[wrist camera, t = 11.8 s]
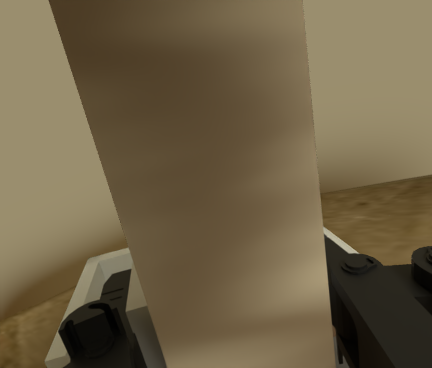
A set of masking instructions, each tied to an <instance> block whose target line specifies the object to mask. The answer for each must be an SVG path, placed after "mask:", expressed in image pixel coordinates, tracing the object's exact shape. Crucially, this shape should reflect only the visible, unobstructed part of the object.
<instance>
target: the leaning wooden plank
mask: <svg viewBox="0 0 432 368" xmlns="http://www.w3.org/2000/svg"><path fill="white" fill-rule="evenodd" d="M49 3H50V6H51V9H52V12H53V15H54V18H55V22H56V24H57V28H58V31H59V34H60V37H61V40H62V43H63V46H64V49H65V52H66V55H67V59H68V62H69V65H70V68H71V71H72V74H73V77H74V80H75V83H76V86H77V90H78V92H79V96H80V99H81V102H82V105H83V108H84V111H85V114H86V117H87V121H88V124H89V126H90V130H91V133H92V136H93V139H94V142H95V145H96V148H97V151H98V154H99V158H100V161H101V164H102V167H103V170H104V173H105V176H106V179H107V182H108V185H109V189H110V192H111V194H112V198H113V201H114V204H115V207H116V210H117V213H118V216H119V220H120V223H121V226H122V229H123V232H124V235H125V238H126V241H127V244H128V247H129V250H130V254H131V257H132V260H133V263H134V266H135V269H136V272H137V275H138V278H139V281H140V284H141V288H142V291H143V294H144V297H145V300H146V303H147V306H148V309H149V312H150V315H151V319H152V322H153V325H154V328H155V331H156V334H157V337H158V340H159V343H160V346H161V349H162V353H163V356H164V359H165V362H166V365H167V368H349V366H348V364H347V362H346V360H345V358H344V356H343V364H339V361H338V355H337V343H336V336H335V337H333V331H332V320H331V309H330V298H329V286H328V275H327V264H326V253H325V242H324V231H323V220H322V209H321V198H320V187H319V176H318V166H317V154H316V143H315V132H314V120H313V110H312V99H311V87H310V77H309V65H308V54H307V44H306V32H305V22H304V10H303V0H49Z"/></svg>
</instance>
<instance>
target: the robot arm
mask: <svg viewBox="0 0 432 368" xmlns="http://www.w3.org/2000/svg"><path fill="white" fill-rule="evenodd" d="M324 242H325V253H326V264H327V275H328V286H329V298H330V309H331V320H332V325H333V326H334V328H335V331H336V343H337V355H338V361H339V364H343V356H344V358H345V360H346V362H347V364H348V366H349V368H432V246H427V247H422V248H419V249H417V250H415V251H414V252H413V254H412V258H411V264H406V265H392V266H383V265H382V264H381V263H380V262H379V261H378V260H376V259H375V258H373V257H370V256H368V255H365V254H358V253H348V252H347V251H345V250H344V249H343V248H342V247H340V246H339V245H338V244H336V243H335V242H334V241H333V240H331V239H330V238H329V237H327V236H326V235H325V234H324ZM58 333H59V335H60V337H61V339H62V342H63V344H64V346H65V348H66V350H67V352H68V355H69V357H70V363H68V364H67V365H66V366H64V367H63V368H167V365H166V362H165V359H164V356H163V353H162V349H161V346H160V343H159V340H158V337H157V334H156V331H155V328H154V325H153V322H152V319H151V315H150V312H149V309H148V306H147V303H146V300H145V297H144V294H143V291H142V288H141V284H140V281H139V278H138V275H137V272H136V269H135V266H134V263H132V268H131V269H128V270H124V271H121V272H117V273H113V274H112V275H111V276H110V277H109V278H108V280H107V281H106V282H105V283H104V285H103V289H102V292H101V296H100V299H99V300H95V301H92V302H89V303H87V304H85V305H83V306H81V307H79V308H77V309H76V310H74V311H73V312H72V313H70V314H69V315H68V316H67V317H66V318H65V320H64V321H63V322H62V323H61V325H60V328H59V330H58Z"/></svg>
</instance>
